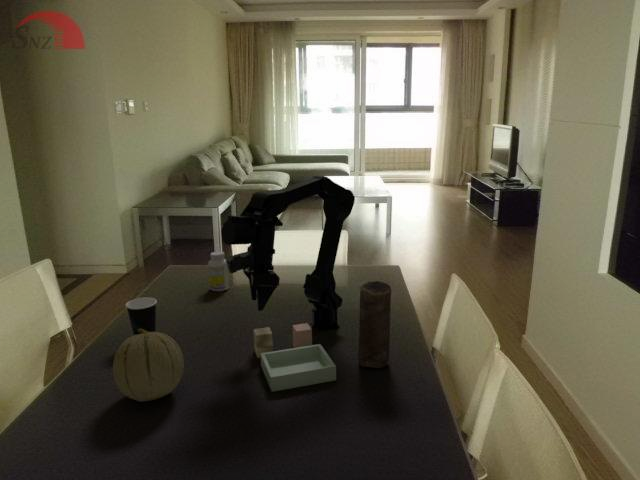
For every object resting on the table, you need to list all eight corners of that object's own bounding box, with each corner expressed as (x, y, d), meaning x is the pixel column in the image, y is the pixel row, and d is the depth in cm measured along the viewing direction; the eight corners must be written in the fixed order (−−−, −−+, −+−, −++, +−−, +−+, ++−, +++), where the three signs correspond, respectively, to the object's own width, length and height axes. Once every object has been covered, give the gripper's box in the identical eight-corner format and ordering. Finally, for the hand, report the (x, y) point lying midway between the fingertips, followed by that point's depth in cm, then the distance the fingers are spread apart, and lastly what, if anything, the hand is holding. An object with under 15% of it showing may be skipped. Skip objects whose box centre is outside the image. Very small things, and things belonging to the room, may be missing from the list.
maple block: (269, 348, 134) (268, 327, 132) (273, 355, 130) (272, 333, 129) (254, 350, 133) (253, 329, 131) (257, 357, 129) (256, 335, 128)
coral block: (308, 344, 136) (307, 323, 134) (312, 350, 132) (311, 329, 131) (293, 346, 135) (292, 325, 133) (297, 353, 131) (296, 331, 130)
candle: (392, 359, 126) (393, 282, 122) (386, 374, 120) (387, 292, 115) (362, 355, 129) (362, 279, 124) (354, 369, 122) (354, 289, 117)
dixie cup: (126, 347, 136) (121, 308, 133) (135, 334, 144) (130, 297, 141) (156, 346, 136) (152, 307, 134) (164, 333, 144) (160, 296, 141)
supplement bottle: (220, 284, 184) (218, 249, 181) (233, 287, 180) (231, 252, 177) (206, 289, 179) (203, 254, 175) (219, 293, 175) (217, 256, 172)
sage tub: (320, 356, 129) (320, 343, 128) (336, 380, 118) (335, 366, 117) (261, 366, 125) (260, 353, 124) (271, 391, 113) (270, 377, 113)
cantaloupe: (148, 423, 103) (139, 354, 99) (101, 402, 111) (92, 338, 107) (201, 389, 115) (195, 326, 111) (156, 372, 123) (149, 314, 119)
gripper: (225, 235, 133) (220, 294, 135) (234, 248, 116) (228, 315, 118) (267, 238, 137) (262, 295, 139) (282, 251, 119) (276, 316, 121)
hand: (256, 305), depth 129 cm, fingers open, 9 cm apart
